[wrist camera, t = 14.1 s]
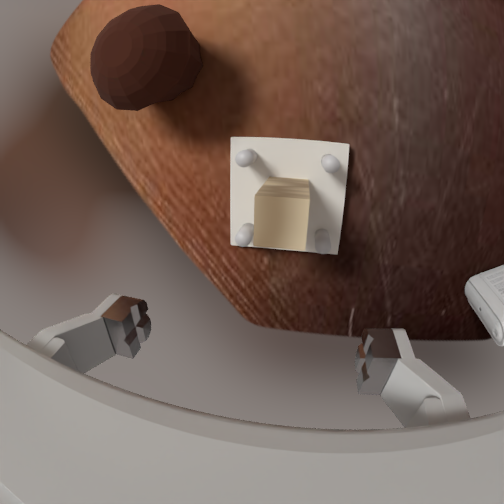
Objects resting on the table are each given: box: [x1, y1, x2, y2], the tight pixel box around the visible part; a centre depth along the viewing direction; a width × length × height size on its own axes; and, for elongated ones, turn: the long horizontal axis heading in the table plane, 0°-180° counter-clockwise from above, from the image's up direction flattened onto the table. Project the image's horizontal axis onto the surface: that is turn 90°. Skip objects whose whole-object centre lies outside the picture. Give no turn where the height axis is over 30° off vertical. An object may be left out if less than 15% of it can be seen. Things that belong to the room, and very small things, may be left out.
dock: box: [230, 137, 349, 255], centre depth 28 cm, size 12×12×4 cm
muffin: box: [91, 4, 203, 111], centre depth 22 cm, size 12×11×10 cm
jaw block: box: [253, 177, 310, 251], centre depth 25 cm, size 4×4×9 cm
